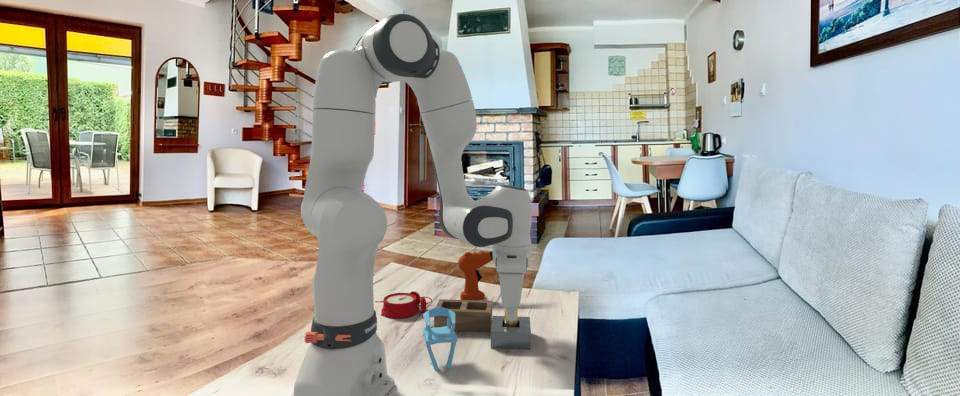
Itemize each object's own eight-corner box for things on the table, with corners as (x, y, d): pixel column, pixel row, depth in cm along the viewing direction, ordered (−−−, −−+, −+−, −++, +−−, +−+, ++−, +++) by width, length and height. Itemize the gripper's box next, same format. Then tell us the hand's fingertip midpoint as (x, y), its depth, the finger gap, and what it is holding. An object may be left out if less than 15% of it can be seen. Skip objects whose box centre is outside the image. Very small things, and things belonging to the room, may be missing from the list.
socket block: (530, 353, 101) (530, 332, 101) (490, 352, 102) (490, 331, 101) (529, 336, 110) (529, 316, 109) (492, 335, 111) (492, 315, 110)
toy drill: (519, 289, 140) (514, 243, 137) (464, 305, 133) (458, 257, 130) (512, 284, 145) (507, 239, 142) (458, 300, 137) (452, 253, 134)
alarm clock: (372, 298, 127) (419, 278, 134) (377, 317, 128) (424, 297, 135) (384, 310, 118) (434, 288, 125) (390, 331, 119) (439, 308, 126)
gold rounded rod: (517, 343, 104) (517, 301, 103) (504, 342, 104) (504, 301, 103) (517, 337, 107) (517, 297, 106) (504, 336, 107) (504, 296, 106)
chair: (424, 376, 91) (423, 320, 90) (420, 357, 99) (419, 305, 98) (461, 372, 93) (461, 317, 92) (454, 353, 101) (454, 302, 100)
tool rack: (490, 335, 110) (490, 312, 110) (434, 333, 111) (433, 310, 111) (492, 322, 118) (492, 300, 117) (439, 320, 119) (439, 299, 119)
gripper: (499, 244, 114) (499, 296, 116) (496, 267, 93) (495, 330, 95) (524, 244, 113) (523, 297, 115) (526, 267, 93) (525, 331, 95)
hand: (511, 312), depth 105 cm, fingers open, 7 cm apart
